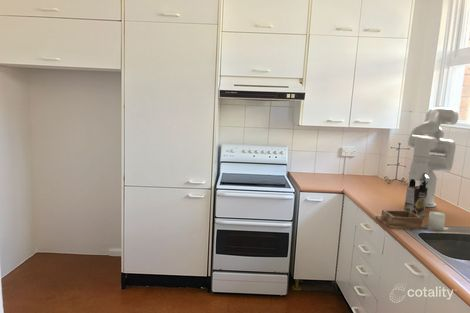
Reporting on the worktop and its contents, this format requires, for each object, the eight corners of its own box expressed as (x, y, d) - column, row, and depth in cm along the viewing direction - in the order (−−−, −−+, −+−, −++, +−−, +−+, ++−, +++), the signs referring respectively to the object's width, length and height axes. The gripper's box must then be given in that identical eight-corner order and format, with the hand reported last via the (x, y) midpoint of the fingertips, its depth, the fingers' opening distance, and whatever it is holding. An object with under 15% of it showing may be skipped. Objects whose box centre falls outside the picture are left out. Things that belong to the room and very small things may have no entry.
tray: (375, 217, 186) (376, 208, 185) (410, 218, 187) (411, 209, 186) (390, 228, 170) (391, 218, 170) (427, 229, 171) (429, 219, 171)
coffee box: (413, 218, 189) (416, 189, 186) (403, 214, 195) (406, 186, 192) (424, 216, 192) (428, 188, 190) (414, 212, 198) (418, 185, 196)
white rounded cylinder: (424, 224, 179) (426, 211, 178) (437, 224, 179) (439, 211, 178) (433, 229, 172) (434, 215, 171) (446, 229, 172) (448, 215, 171)
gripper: (405, 156, 197) (401, 186, 199) (423, 161, 180) (419, 193, 182) (418, 157, 197) (414, 187, 200) (437, 162, 180) (433, 194, 182)
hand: (416, 190), depth 191 cm, fingers open, 9 cm apart
